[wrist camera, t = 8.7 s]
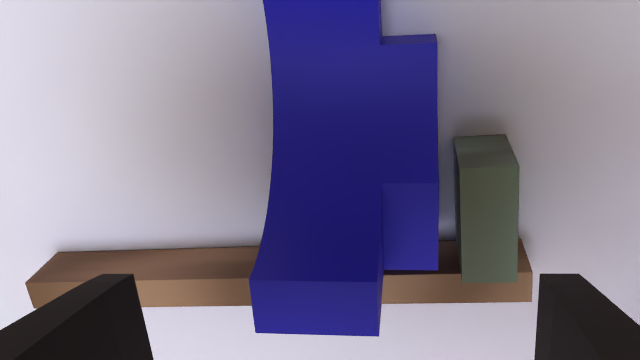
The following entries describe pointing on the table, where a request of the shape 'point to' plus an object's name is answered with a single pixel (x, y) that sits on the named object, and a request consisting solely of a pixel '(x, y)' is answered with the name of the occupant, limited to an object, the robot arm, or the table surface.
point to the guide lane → (398, 285)
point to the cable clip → (345, 167)
